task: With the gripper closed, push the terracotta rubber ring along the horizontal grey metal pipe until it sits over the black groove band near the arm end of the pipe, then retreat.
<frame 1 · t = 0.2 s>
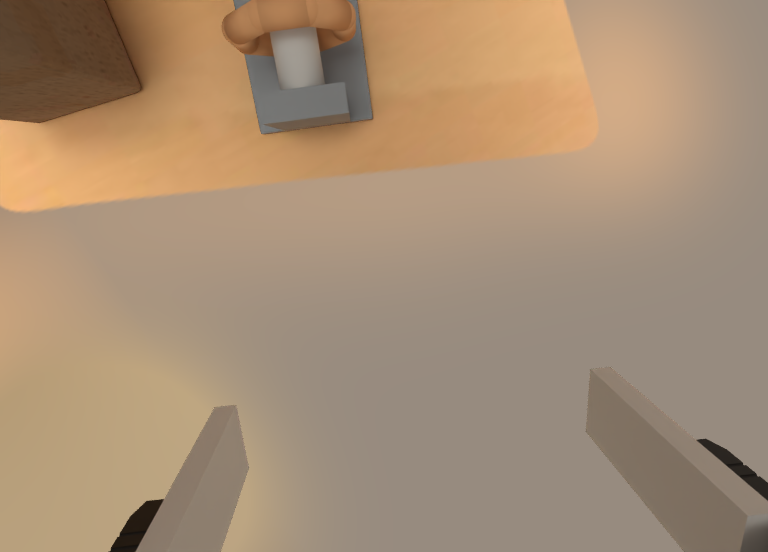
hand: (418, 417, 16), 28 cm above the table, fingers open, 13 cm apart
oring: (292, 28, 29), point 8 cm above the table, slide at 5.0 cm
wooden block: (64, 47, 36), on the table
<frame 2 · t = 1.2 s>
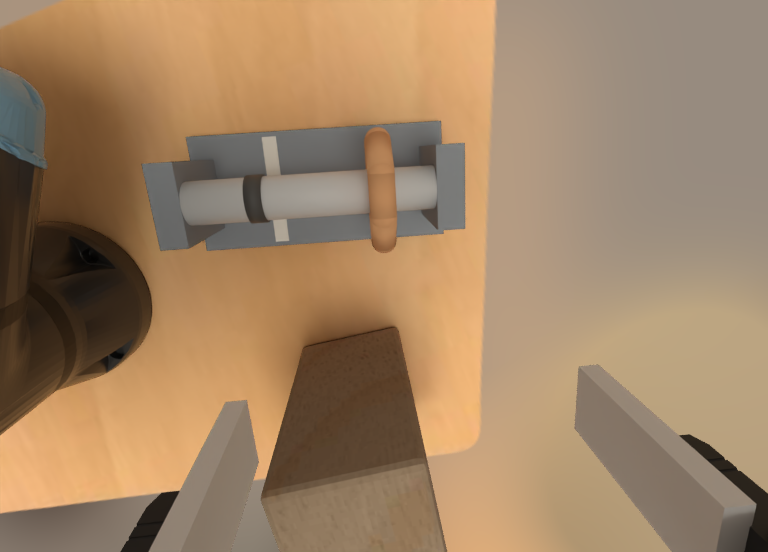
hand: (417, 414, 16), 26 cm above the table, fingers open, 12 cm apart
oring: (379, 190, 31), point 8 cm above the table, slide at 5.0 cm
wooden block: (360, 376, 45), on the table
pipe stand: (321, 186, 39), on the table
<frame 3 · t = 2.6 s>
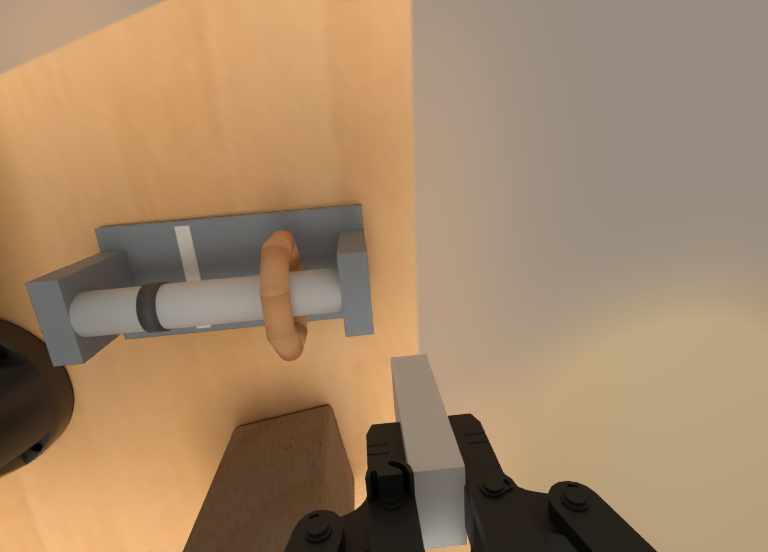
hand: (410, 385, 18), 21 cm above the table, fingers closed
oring: (286, 294, 30), point 8 cm above the table, slide at 5.0 cm
wooden block: (296, 453, 44), on the table
pipe stand: (243, 271, 38), on the table
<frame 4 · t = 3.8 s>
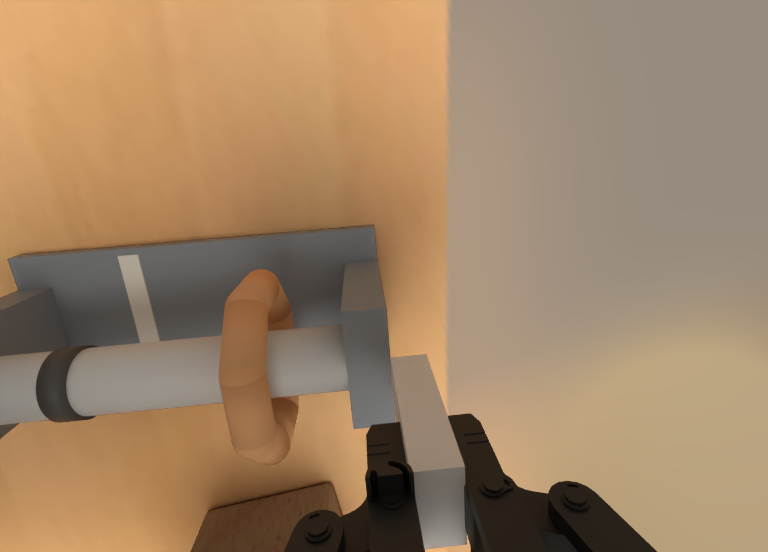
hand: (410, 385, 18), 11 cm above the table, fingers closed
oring: (266, 364, 21), point 8 cm above the table, slide at 5.0 cm
wooden block: (287, 540, 34), on the table
pipe stand: (214, 313, 28), on the table
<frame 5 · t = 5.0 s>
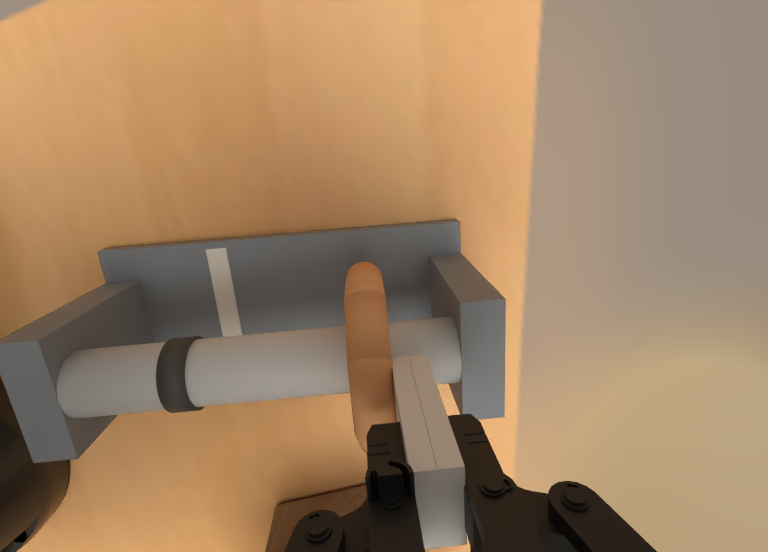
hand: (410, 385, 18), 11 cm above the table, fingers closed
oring: (370, 356, 21), point 8 cm above the table, slide at 4.9 cm, touching gripper
wooden block: (352, 534, 34), on the table
pipe stand: (294, 307, 28), on the table
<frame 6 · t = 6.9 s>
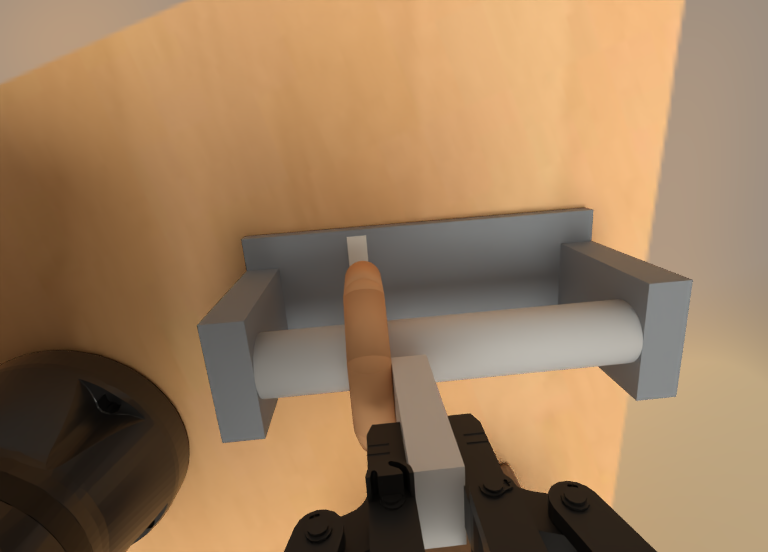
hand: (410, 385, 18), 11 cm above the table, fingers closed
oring: (369, 355, 21), point 8 cm above the table, slide at -3.8 cm, touching gripper
wooden block: (457, 521, 35), on the table
pipe stand: (421, 295, 29), on the table
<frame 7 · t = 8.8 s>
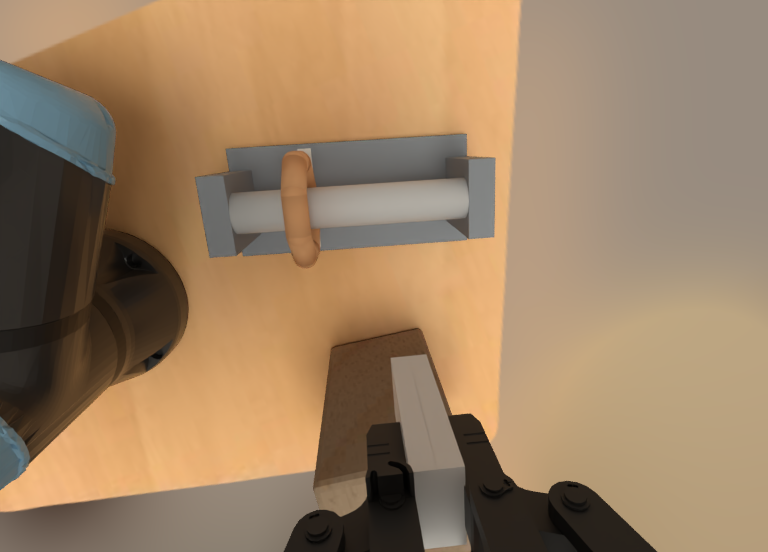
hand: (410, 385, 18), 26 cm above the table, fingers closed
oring: (302, 209, 33), point 8 cm above the table, slide at -3.8 cm
wooden block: (384, 375, 47), on the table
pipe stand: (352, 195, 41), on the table
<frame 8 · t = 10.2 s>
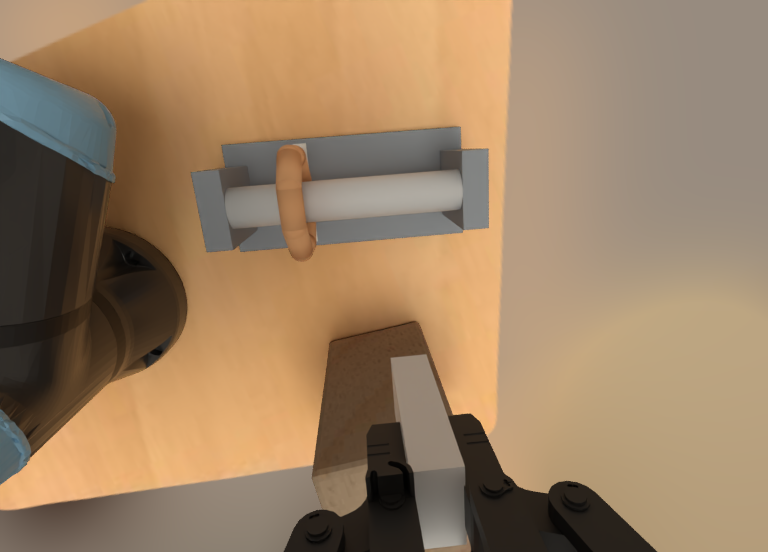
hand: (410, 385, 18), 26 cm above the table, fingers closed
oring: (298, 202, 33), point 8 cm above the table, slide at -3.8 cm
wooden block: (383, 369, 47), on the table
pipe stand: (347, 189, 41), on the table
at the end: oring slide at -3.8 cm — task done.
